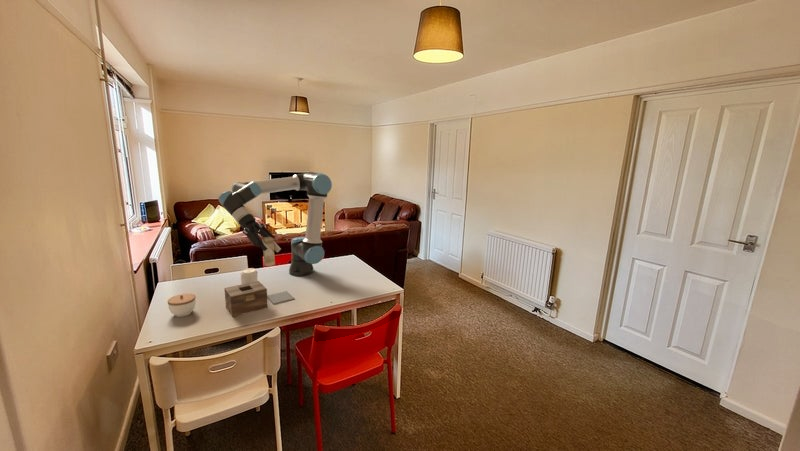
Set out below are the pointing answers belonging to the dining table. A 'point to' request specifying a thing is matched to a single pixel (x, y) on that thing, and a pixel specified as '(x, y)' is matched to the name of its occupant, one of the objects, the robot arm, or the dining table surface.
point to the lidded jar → (182, 304)
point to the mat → (280, 297)
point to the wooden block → (267, 259)
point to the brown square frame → (245, 298)
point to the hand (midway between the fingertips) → (275, 252)
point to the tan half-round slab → (248, 276)
